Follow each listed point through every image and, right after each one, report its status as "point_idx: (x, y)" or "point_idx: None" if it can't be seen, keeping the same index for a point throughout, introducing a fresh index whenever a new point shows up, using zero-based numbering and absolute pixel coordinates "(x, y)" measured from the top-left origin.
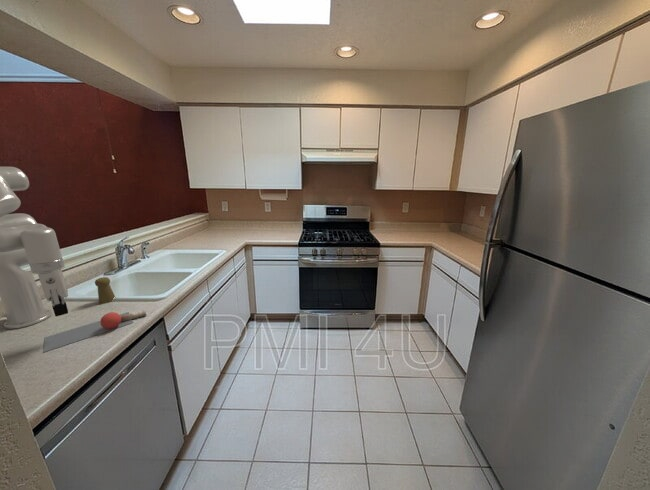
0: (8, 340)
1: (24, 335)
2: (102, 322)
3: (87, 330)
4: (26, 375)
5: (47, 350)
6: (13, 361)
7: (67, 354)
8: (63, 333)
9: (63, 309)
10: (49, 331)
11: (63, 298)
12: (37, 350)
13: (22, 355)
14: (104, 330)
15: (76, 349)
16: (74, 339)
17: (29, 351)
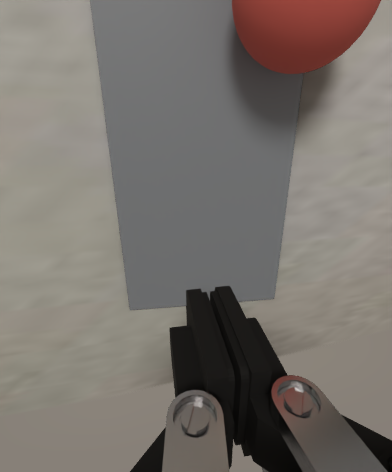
0: (54, 401)
1: (40, 370)
2: (338, 55)
3: (202, 154)
4: (388, 316)
5: (272, 289)
6: None
7: (370, 227)
8: (144, 252)
9: (266, 339)
10: (64, 302)
11: (220, 446)
12: None
13: None
14: None
15: (361, 200)
16: (260, 209)
17: None
